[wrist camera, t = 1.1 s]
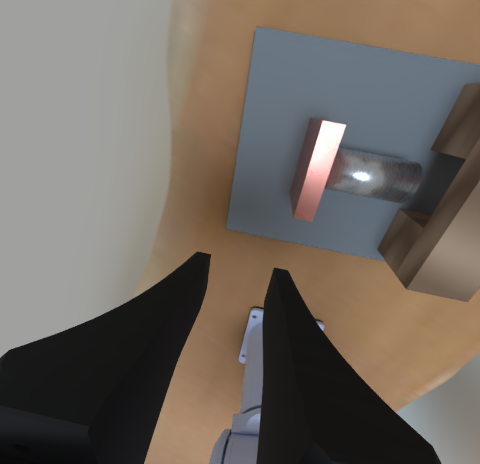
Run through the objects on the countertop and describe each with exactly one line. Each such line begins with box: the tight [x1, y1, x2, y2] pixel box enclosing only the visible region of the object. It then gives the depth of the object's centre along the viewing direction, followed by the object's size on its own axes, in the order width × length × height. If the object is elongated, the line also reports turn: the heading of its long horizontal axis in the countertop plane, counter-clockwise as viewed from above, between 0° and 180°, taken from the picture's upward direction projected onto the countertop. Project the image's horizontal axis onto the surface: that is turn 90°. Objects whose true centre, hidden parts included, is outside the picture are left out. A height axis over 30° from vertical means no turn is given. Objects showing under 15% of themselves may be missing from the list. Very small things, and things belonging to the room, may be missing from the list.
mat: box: [226, 26, 480, 261], centre depth 17 cm, size 14×20×1 cm
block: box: [377, 83, 480, 302], centre depth 15 cm, size 12×4×5 cm, turn 171°
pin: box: [289, 117, 423, 222], centre depth 15 cm, size 7×6×4 cm
